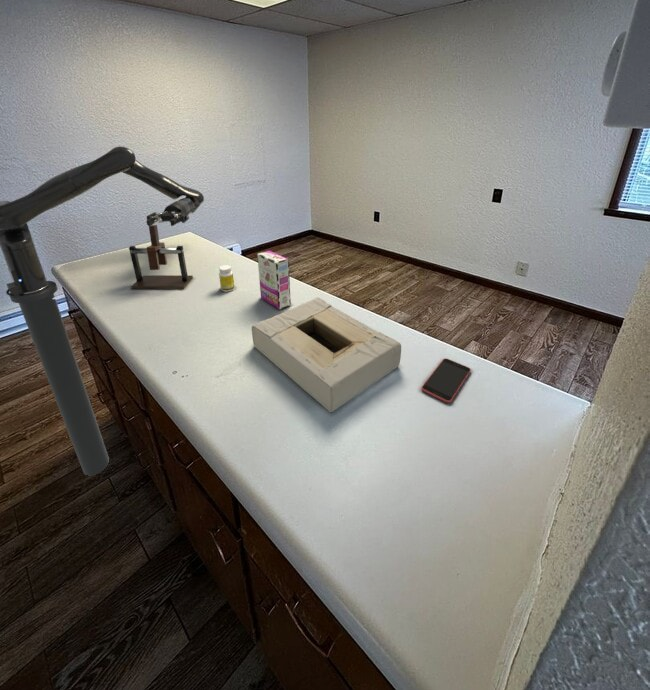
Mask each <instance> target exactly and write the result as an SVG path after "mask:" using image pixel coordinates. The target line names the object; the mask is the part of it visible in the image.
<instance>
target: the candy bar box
mask: <svg viewBox="0 0 650 690" xmlns="http://www.w3.org/2000/svg"><path fill="white" fill-rule="evenodd" d="M256 255H257V266H258V278H259V291H260V299H261V300H263V301H265V302H266V303H268V304H270V305H271V306H273V307H274V308H275V309H278V310H279V311H280V310H282V309H285V308H287V307H290V306H291V304H292V301H291V282H290V279H291V278H290V260H289V258H287V257H285V256H283V255H280V254H278V253H276V252H274V251H272V250H266V251H262V252H258V253H256Z"/></svg>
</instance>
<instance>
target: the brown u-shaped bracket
mask: <svg viewBox="0 0 650 690" xmlns="http://www.w3.org/2000/svg"><path fill="white" fill-rule="evenodd" d="M148 230H149V237H150V245H149V246H147V247H146V248H147V254H146V255H147V260H148V265H149V271H159V270H160V266H166V265H168V258H167V254H158V253H157V250H158V249H160V248H166V245H165V242H164V241H163V242H162V241H161V242H160V237H159V229H158V225H157V224H152V225H150V226H148Z"/></svg>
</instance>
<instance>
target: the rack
mask: <svg viewBox="0 0 650 690" xmlns="http://www.w3.org/2000/svg"><path fill="white" fill-rule="evenodd" d="M183 246H184V245H178V246H176V247H165V248H160V249H158V250H157V253H158V254H166V255H167V254H169V255H177V258H178V263H179V269H180V275H175V274H174V275H173V274H172V275H171V274H170V275H168V274H167V275H166V274H165V275H154V274H153V275H151V274H150V275H149V274H148V275H143V273H142V269H141V265H140V261H139V257H138V255H142V254H146V255H148V254H147V247H137V246H136V245H130V246H129V247H128V250H129V255H130V259H131V263H132V269H133V272H134V276H135V282H134V283H133V284H132V285H131V286H130V288H131V290H185V289H186V288H187V286H188V285H189V284H190V283H191V281H192V280H193V279H194V278H193V277H194V276H193V275H188V269H187V264H186V258H185V251H184V247H183Z"/></svg>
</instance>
